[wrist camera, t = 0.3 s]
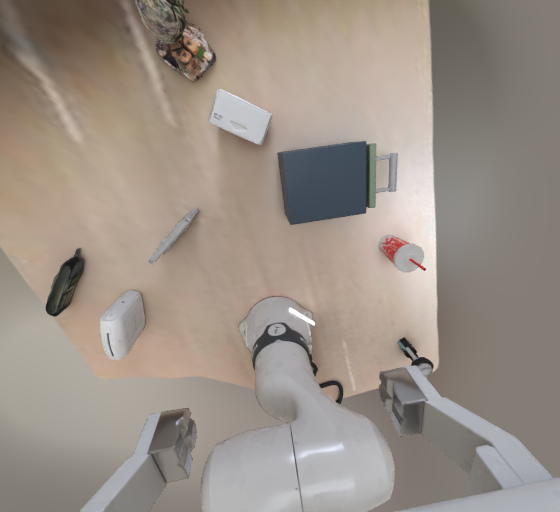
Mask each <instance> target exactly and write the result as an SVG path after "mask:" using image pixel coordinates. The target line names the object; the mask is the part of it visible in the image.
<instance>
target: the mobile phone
mask: <svg viewBox="0 0 560 512" xmlns="http://www.w3.org/2000/svg"><path fill="white" fill-rule="evenodd" d="M79 253H80V249H76V253H75V256H74V257H73V258H71V259H69V260H68V261H66V262H65V263H64V264H63V265H62V266H61V268H60V271H59V273H58V274H57V275H56V276H55V278H54V281H53V284H52V287H51V292H50V294H49V297H48V300H47V304H46V311H47V313H48V314H49V315H51V316H57V315H59V314H60V313H61V312H62V311H63V310H64V309H66V308H67V307H68V306H69V304H70V301H71V298H72V295H73V292H74V289H75V287H76V284H77V282H78V280H79V278H80V277H81V275H82V271H83V260H82V259H80V258H79Z"/></svg>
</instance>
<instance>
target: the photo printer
mask: <svg viewBox="0 0 560 512" xmlns="http://www.w3.org/2000/svg"><path fill="white" fill-rule="evenodd" d="M144 327H145V315H144V307H143V301H142V296H141V294H140V293H139V292H137V291H135V290H130V291H127V292H126V293H123V294H122V295H121V296H120V297H119V298H118V299H117V300H116V301H115V303H114V304H113V305H112V306H111V307H110V308H109V309H108V310H107V311H106V312H105V313H104V314H103V316H102V317H101V320H100V334H101V340H102V344H103V348H104V350H105V353H106V354H107V356H108V357H109V358H110V359H111V360H114V359H116V360H119V359H122V358H123V357H125V356H126V355H127V354H128V353H129V351H130V350H131V348H132V346H133V345H134V343H135V342H136V340H137V338H138V337H139V335H140V333H141V332H142V330H143V329H144Z"/></svg>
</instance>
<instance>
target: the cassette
mask: <svg viewBox="0 0 560 512" xmlns="http://www.w3.org/2000/svg"><path fill="white" fill-rule="evenodd" d="M197 213H198V210H197V209H194V210H193V211H192V212H191V213H190V214H187V216H186V217H184V218H183V219H182V220H181V221H180V222H179V223H178V224H177V225H176V227H175V228H174V230H173V231H172V232H171V233H170V234H169V235H168V236H167V238H166V239H164V240H163V241H162V242H161V244H160V246H159V247H158V248H157V251H156V252H155V253H154V255H153V256H152V257H151V259H150V260H149V261H148V262H150V263H151V264H153V263H154V262H155V261H156V260H157V259H158V258H159V257H160V256H161V255H162V254H164V253H165V252H166V251H168V250H169V249H170V247H171V246H172V244H173V243H174V242H175V241H176V240H177V239H178V238H179V236H180V235H181V234H182V233H184V232H185V231H186V229H187V228H188V226H189V225H190V224H191V222H192V221H193V220H194V219H195V218H194V217H195V215H196V214H197Z"/></svg>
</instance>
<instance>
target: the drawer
mask: <svg viewBox="0 0 560 512" xmlns="http://www.w3.org/2000/svg"><path fill="white" fill-rule="evenodd" d="M397 158H398V153H390V155H385V156H378V157H376V143H375V144H366V207H368V208H374V207H375V200H376V193H378V192H385V191H389V192H395V191H396V181H397ZM383 159H389V186H388V188H381V189H376V160H383Z"/></svg>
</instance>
